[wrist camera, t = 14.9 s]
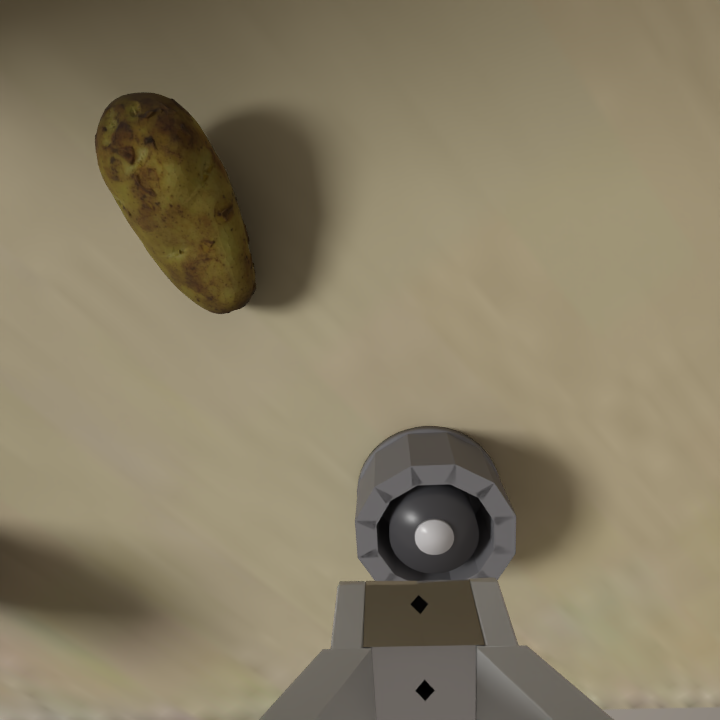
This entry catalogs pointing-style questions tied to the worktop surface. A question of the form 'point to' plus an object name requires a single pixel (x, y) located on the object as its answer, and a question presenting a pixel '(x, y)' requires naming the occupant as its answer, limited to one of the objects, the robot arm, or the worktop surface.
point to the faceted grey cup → (432, 467)
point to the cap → (433, 528)
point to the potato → (177, 198)
